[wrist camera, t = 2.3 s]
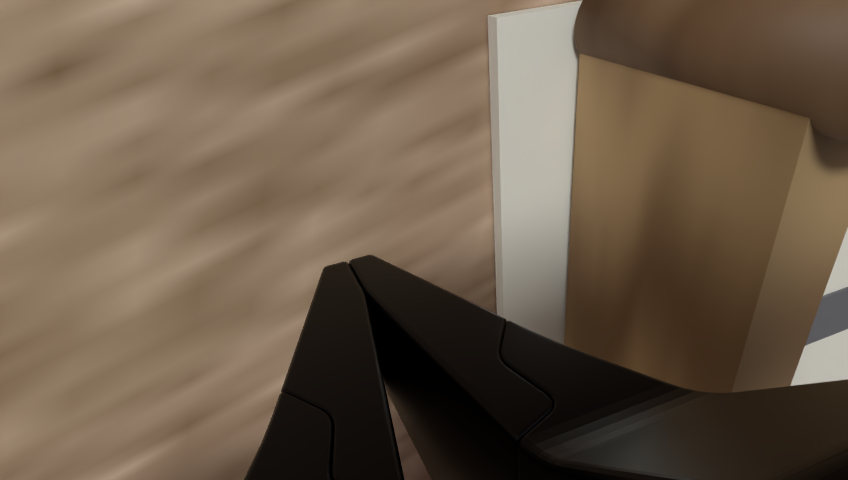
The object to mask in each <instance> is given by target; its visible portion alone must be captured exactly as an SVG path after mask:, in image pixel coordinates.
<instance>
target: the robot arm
mask: <svg viewBox="0 0 848 480" xmlns="http://www.w3.org/2000/svg"><path fill="white" fill-rule="evenodd" d="M385 387H386V389H385ZM386 390H387V392H388V394H389V396H390V398H391V400H392V402H393V404H394V406H395V408H396V410H397V412H398V414H399V416H400V418H401V420H402V422H403V424H404V426H405V428H406V430H407V431H408V433H409V435H410V437H411V439H412V441H413V443H414V445H415V447H416V449H417V451H418V453H419V455H420V457H421V459H422V461H423V463H424V465H425V467H426V469H427V471H428V473H429V475H430V477H431V479H432V480H848V379H846V380H838V381H829V382H820V383H811V384H803V385H794V386H785V387H777V388H768V389H759V390H750V391H742V392H731V393H711V392H703V391H696V390H691V389H687V388H682V387H679V386H676V385H673V384H670V383H667V382H664V381H661V380H659V379H656V378H653V377H650V376H648V375H645V374H642V373H639V372H637V371H634V370H631V369H628V368H626V367H623V366H620V365H617V364H615V363H612V362H609V361H606V360H604V359H601V358H598V357H595V356H592V355H590V354H587V353H584V352H582V351H579V350H577V349H574V348H572V347H569V346H566V345H564V344H561V343H559V342H556V341H554V340H551V339H549V338H547V337H545V336H542V335H540V334H538V333H536V332H533V331H531V330H529V329H527V328H525V327H523V326H520V325H518V324H516V323H514V322H512V321H507V320H506V319H505V318H503V317H501V316H499V315H497V314H495V313H493V312H491V311H489V310H486V309H484V308H482V307H480V306H478V305H476V304H474V303H472V302H470V301H468V300H465V299H463V298H461V297H459V296H457V295H455V294H453V293H451V292H449V291H447V290H445V289H442V288H440V287H438V286H436V285H434V284H432V283H430V282H428V281H426V280H424V279H421V278H419V277H417V276H415V275H413V274H411V273H409V272H407V271H405V270H403V269H400V268H398V267H396V266H394V265H392V264H390V263H388V262H386V261H384V260H382V259H379V258H377V257H375V256H373V255H367V256H363V257H359V258H356V259H352V260H350V262H349V264H348V263H347V262H340V263H337V264H333V265H329V266H326V267H325V268H324V269H323V271H322V274H321V277H320V280H319V283H318V285H317V288H316V291H315V294H314V297H313V300H312V303H311V306H310V309H309V312H308V314H307V317H306V320H305V323H304V326H303V329H302V332H301V335H300V338H299V341H298V343H297V346H296V349H295V352H294V355H293V358H292V361H291V364H290V367H289V370H288V372H287V375H286V378H285V381H284V384H283V387H282V390H281V394H280V395H279V398H278V401H277V404H276V407H275V410H274V412H273V415H272V418H271V420H270V423H269V425H268V428H267V430H266V433H265V436H264V438H263V441H262V443H261V445H260V447H259V449H258V451H257V453H256V456H255V458H254V460H253V462H252V464H251V466H250V468H249V470H248V472H247V474H246V476H245V478H244V480H404V476H403V471H402V466H401V461H400V457H399V452H398V447H397V442H396V437H395V432H394V428H393V423H392V418H391V413H390V408H389V403H388V399H387V394H386Z"/></svg>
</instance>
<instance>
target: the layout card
mask: <svg viewBox="0 0 848 480" xmlns="http://www.w3.org/2000/svg"><path fill="white" fill-rule="evenodd" d="M582 1H583V0H582ZM582 1H576V2H570V3H563V4H557V5H551V6H545V7H538V8H532V9H526V10H520V11H513V12H507V13H501V14H495V15H489V16H488V43H489V76H490V108H491V141H492V174H493V206H494V239H495V272H496V304H497V315H499V316H501V317H503V318H505V319H506V320H507V321H512V322H514V323H516V324H518V325H520V326H523V327H525V328H527V329H529V330H531V331H533V332H536V333H538V334H540V335H542V336H545V337H547V338H549V339H551V340H554V341H556V342H559V343H561V344H564V335H565V317H566V298H567V280H568V261H569V242H570V224H571V205H572V187H573V168H574V150H575V131H576V113H577V94H578V76H579V57H580V53H579V51H578V48H577V46H576V41H575V21H576V16H577V13H578V10H579V7H580V5H581V3H582ZM846 379H848V228H847V231H846V233H845V236H844V239H843V242H842V244H841V247H840V250H839V253H838V256H837V258H836V261H835V264H834V267H833V269H832V272H831V275H830V278H829V280H828V283H827V286H826V289H825V291H824V294H823V297H822V300H821V302H820V305H819V308H818V311H817V313H816V316H815V319H814V322H813V325H812V327H811V330H810V333H809V336H808V338H807V341H806V344H805V347H804V349H803V352H802V355H801V358H800V360H799V363H798V366H797V369H796V371H795V374H794V377H793V380H792V383H791V385H790V386H794V385H803V384H811V383H820V382H829V381H838V380H846Z"/></svg>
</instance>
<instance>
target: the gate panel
mask: <svg viewBox="0 0 848 480" xmlns="http://www.w3.org/2000/svg"><path fill="white" fill-rule="evenodd" d="M575 41H576V46H577V48H578V51H579V53H580V57H579V76H578V94H577V113H576V131H575V150H574V168H573V187H572V205H571V224H570V242H569V261H568V280H567V298H566V317H565V335H564V345H566V346H569V347H572V348H574V349H577V350H579V351H582V352H584V353H587V354H590V355H592V356H595V357H598V358H601V359H604V360H606V361H609V362H612V363H615V364H617V365H620V366H623V367H626V368H628V369H631V370H634V371H637V372H639V373H642V374H645V375H648V376H650V377H653V378H656V379H659V380H661V381H664V382H667V383H670V384H673V385H676V386H679V387H682V388H687V389H691V390H696V391H703V392H711V393H731V392H742V391H750V390H759V389H768V388H777V387H785V386H790V385H791V383H792V380H793V377H794V374H795V371H796V369H797V366H798V363H799V360H800V358H801V355H802V352H803V349H804V347H805V344H806V341H807V338H808V336H809V333H810V330H811V327H812V325H813V322H814V319H815V316H816V313H817V311H818V308H819V305H820V302H821V300H822V297H823V294H824V291H825V289H826V286H827V283H828V280H829V278H830V275H831V272H832V269H833V267H834V264H835V261H836V258H837V256H838V253H839V250H840V247H841V244H842V242H843V239H844V236H845V233H846V231H847V228H848V0H583V1H582V3H581V5H580V7H579V10H578V13H577V16H576V21H575Z"/></svg>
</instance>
